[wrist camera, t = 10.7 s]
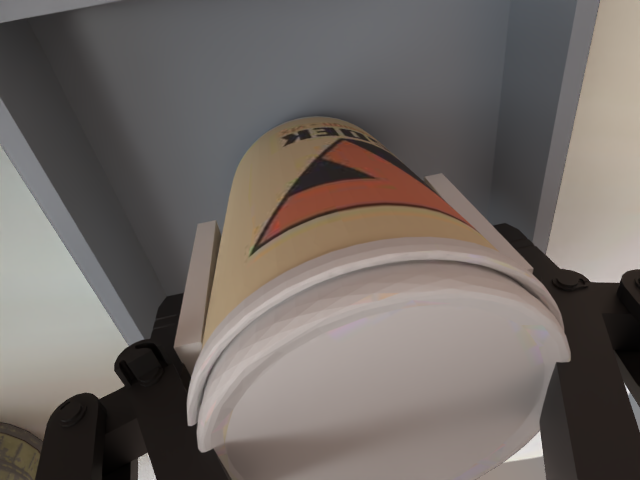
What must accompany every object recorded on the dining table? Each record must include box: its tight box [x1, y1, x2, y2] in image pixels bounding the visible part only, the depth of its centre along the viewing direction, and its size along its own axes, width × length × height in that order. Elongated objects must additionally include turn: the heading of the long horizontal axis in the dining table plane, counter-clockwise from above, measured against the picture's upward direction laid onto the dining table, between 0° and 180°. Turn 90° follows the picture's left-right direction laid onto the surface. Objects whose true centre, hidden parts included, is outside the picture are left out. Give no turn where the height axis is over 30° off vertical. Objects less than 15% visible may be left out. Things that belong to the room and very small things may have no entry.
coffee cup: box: [187, 116, 571, 480], centre depth 14 cm, size 9×9×12 cm
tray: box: [0, 0, 600, 346], centre depth 19 cm, size 20×20×5 cm
